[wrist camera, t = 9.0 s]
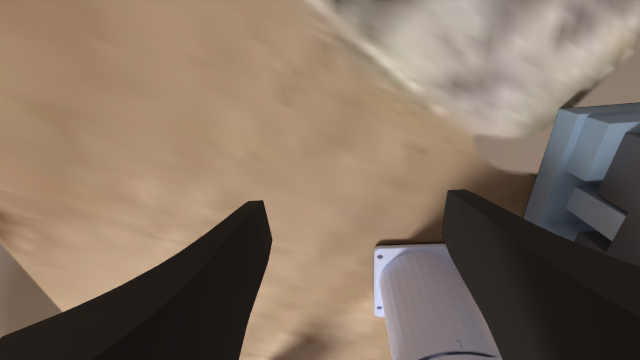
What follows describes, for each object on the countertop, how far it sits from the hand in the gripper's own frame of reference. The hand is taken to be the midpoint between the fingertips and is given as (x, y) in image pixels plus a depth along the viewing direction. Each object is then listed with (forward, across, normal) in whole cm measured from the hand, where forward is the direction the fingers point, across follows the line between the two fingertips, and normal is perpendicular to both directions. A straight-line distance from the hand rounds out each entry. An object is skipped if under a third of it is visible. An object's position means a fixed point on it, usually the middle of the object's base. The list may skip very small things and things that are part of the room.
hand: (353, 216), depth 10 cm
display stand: (+9, -17, +5) cm, 20 cm away
